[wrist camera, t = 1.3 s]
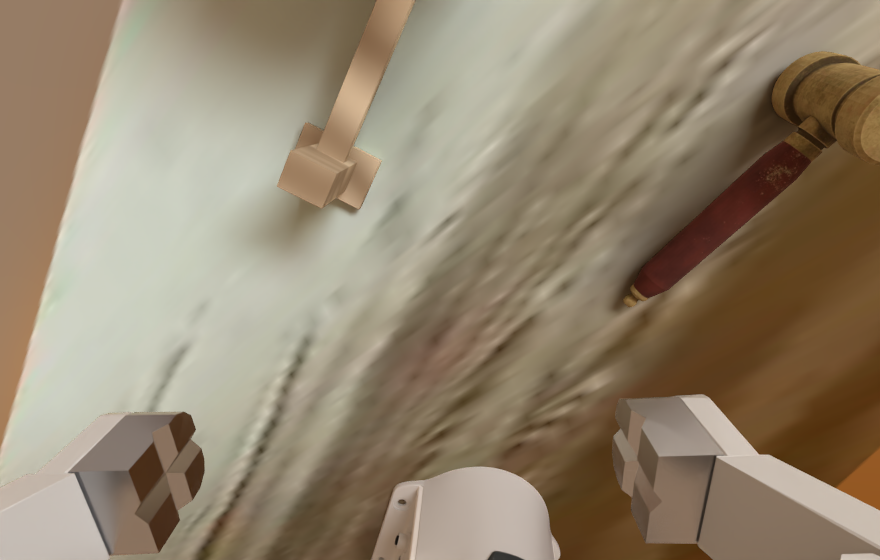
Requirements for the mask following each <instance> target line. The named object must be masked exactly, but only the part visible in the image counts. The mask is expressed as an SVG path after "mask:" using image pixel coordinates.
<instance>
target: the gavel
mask: <svg viewBox="0 0 880 560" xmlns="http://www.w3.org/2000/svg"><path fill="white" fill-rule="evenodd" d="M772 104H773V108H774V110H775V112H776V113H777V114H778V115H779V116H780V117H781V118H783V119H784V120H786V121H788V122H790V123H792V124H794V125H796V126H798V128H799V130H798V131H797V132H794V131H793V132H792V133H791V134H790V135H789V136H788V137H787V138H786V139H785V140H784V141H782V142H781V143H780V144H778V145H777V146H775V147H774V148H772V149H771V150H769V151H768V152H767V153H765V154H764V155H763V156H762V157H760V158H759V159H758V160H757V161H756V162H755V163H754V164H753V165H752V166H751V167H750V168H749V169H748V170H746V171H745V172H744V173H743V174H742V175H741V176H740V177H739V178H738V179H737V180H736V181H735V182H734V183H732V184H731V185H730V186H729V187H728V188H727V189H726V190H725V191H724V192H723V193H722V194H721V195H720V196H718V197H717V198H716V199H715V200H714V201H713V202H712V203H711V204H710V205H709V206H708V207H707V208H706V209H704V210H703V211H702V212H701V213H700V214H699V215H698V216H697V217H696V218H695V219H694V220H693V221H692V222H690V223H689V224H688V225H687V226H686V227H685V228H684V229H683V230H682V231H681V232H680V233H679V234H678V235H676V236H675V237H674V238H673V239H672V240H671V241H670V242H669V243H668V244H667V245H666V246H665V247H664V248H662V249H661V250H660V251H659V252H658V253H657V254H656V255H655V256H654V257H653V258H652V259H651V260H650V261H648V262H647V263H646V264H645V265H644V266H643V267H642V269H641V271H640V273H639V275H638V277H637V279H636V280H635V282H634V284H633V285H632V286H631V288H630V290H631V292H632V293H631V294H628V295H626V296H625V298H624V300H623V302H624V303H625V304H626V305H627V306H628V307H633V306H635V305H636V303H637V301H638V300H641V301H646V300H647V299H648V298H650V297H652V296H655V295H657V294H659V293H662V292H664V291H667V290H669V289H670V288H671V287H672V286H673V285H674V284H676V283H677V282H678V281H679V280H680V279H681V278H683V277H684V276H685V275H686V274H687V273H688V272H690V271H691V270H692V269H693V268H694V267H695V266H696V265H698V264H699V263H700V262H701V261H702V260H703V259H705V258H706V257H707V256H708V255H709V254H710V253H712V252H713V251H714V250H715V249H716V248H717V247H719V246H720V245H721V244H722V243H723V242H724V241H725V240H727V239H728V238H729V237H730V236H731V235H732V234H734V233H735V232H736V231H737V230H738V229H739V228H741V227H742V226H743V225H744V224H745V223H746V222H748V221H749V220H750V219H751V218H752V217H753V216H755V215H756V214H757V213H758V212H759V211H760V210H761V209H763V208H764V207H765V206H766V205H767V204H768V203H770V202H771V201H772V200H773V199H774V198H775V197H777V196H778V195H779V194H780V193H781V192H782V191H784V190H785V189H786V188H787V187H788V186H789V185H790V184H792V183H793V182H794V181H795V180H796V179H797V178H798V177H799V176H800V175H801V173H802V172H803V171H804V170H805V169H806V168H807V167H808V165H809V164H810V163H811V162H812V161H813V160H814V159H815V158H817V157H818V156H819V155H820V154H821V153H822V151H821V150H822V149H823V148H824V147H825V148H829V147H830V146H831V145H832V144H833V143H835V142H836V141H838V143H839V145H840V146H841V147H842V148H843V149H844V150H845V151H847V152H849V153H850V154H852V155H854V156H856V157H858V158H860V159H862V160H864V161H866V162H868V163H870V164H874V165H877V166H880V70H878V69H874V68H870V67H866V66H862V65H860V64H859V62H858V61H856V60H855V59H853V58H852V57H848V56H845V55H841V54H836V53H832V52H815V53H811V54H808V55H805V56H803V57H801V58H799V59H798V60H796V61H795V62H793V63H792V64H791V65H790V66H788V67H787V68H786V69H785V70H784V72H783V73H782V74H781V75H780V77H779V78H778V80H777V81H776V84H775V86H774V88H773V93H772Z"/></svg>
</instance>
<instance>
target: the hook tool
mask: <svg viewBox="0 0 880 560" xmlns="http://www.w3.org/2000/svg"><path fill="white" fill-rule="evenodd" d="M415 1H416V0H376V3H375V5H374V8H373V10H372V13H371V15H370V18H369V20H368V23H367V25H366V28H365V30H364V33H363V35H362V37H361V40H360V42H359V45H358V47H357V50H356V52H355V55H354V57H353V60H352V62H351V65H350V67H349V70H348V72H347V75H346V77H345V80H344V82H343V85H342V87H341V90H340V92H339V95H338V97H337V100H336V102H335V105H334V107H333V109H332V112H331V114H330V117H329V119H328V122H327V124H326V127H325V129H324V130H322V129H320V128H318V127H316V126H314V125H312V124H310V123H305V125H304V127H303V130H302V132H301V135H300V138H299V140H298V143H297V145H296V148H295V149H294V150H291V151H290V153H289V156H288V159H287V161H286V164H285V166H284V169H283V172H282V174H281V177H280V179H279V182H278V185H277V187H279V188H281V189H283V190H285V191H287V192H289V193H291V194H293V195H295V196H297V197H299V198H301V199H303V200H305V201H308V202H310V203H312V204H314V205H316V206H318V207H320V208H323V207H325V206H326V205H327V204H329V203H330V202H331V201H333V200H334V199H335V198H337V199H339V200H341V201H343V202H345V203H347V204H349V205H351V206H353V207H355V208H357V209H360V208H361V206H362V204H363V202H364V199H365V197H366V195H367V193H368V191H369V188H370V186H371V184H372V182H373V180H374V177H375V175H376V173H377V171H378V169H379V166H380V164H381V162H382V160H380V159H378V158H376V157H374V156H372V155H370V154H368V153H366V152H365V151H363V150H361V149H359V148H357V147H355V146H353V145H354V143H355V141H356V138H357V136H358V134H359V131H360V129H361V127H362V124H363V122H364V120H365V117H366V115H367V113H368V110H369V108H370V106H371V103H372V101H373V99H374V96H375V94H376V92H377V89H378V87H379V85H380V82H381V80H382V78H383V75H384V73H385V71H386V68H387V66H388V64H389V61H390V59H391V57H392V54H393V52H394V50H395V47H396V45H397V43H398V40H399V38H400V36H401V33H402V31H403V29H404V26H405V24H406V22H407V19H408V17H409V15H410V12H411V10H412V8H413V5H414V3H415Z"/></svg>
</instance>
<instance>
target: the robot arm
mask: <svg viewBox="0 0 880 560" xmlns="http://www.w3.org/2000/svg"><path fill="white" fill-rule="evenodd" d="M615 418H616V420H617V422H618V424H619V426H620V428H621V429H620V430H619V431H618V433H617V434H616V435H615V436H614V437H613V449H612V454H613V463H614V469H615V473H616V476H617V479H618V482H619V484H620V486H621V489H622V490H623V491H624V492H626V493H627V494H628V495H630V496H631V497H632V505H631V511H632V514H633V516H634V518H635V520H636V523H637V525H638V527H639V529H640V531H641V534H642V536H643V538H644V540H645V542H646V543H698V547H700V548H701V549H702V550H703V551H704V552H705V553H706V554H707V555H709V556H710V557H711V558H712V559H713V560H880V511H879V510H877V509H875V508H873V507H871V506H869V505H867V504H865V503H863V502H861V501H859V500H858V499H856V498H854V497H851V496H850V495H848V494H846V493H843V492H842V491H840V490H838V489H836V488H834V487H832V486H830V485H828V484H826V483H824V482H822V481H820V480H818V479H816V478H814V477H812V476H810V475H808V474H806V473H804V472H802V471H800V470H798V469H796V468H794V467H792V466H790V465H788V464H786V463H784V462H782V461H780V460H778V459H776V458H774V457H772V456H770V455H759V454H758V453H757V452H756V451H755V449H754V448H753V447H752V446H751V445H750V444H749V443H748V441H747V440H746V439H745V438H744V437H743V436H742V435H741V434H740V432H739V431H738V430H737V429H736V428H735V427H734V426H733V424H732V423H731V422H730V421H729V420H728V419H727V418H726V416H725V415H724V414H723V413H722V412H721V411H720V410H719V408H718V407H717V406H716V405H715V404H714V403H713V402H712V400H711V399H710V398H709V397H707V396H705V395H703V394H699V395H683V396H674V397H657V398H632V399H619V402H618V404H617V408H616V416H615ZM195 430H196V429H195V426H194V423H193V420H192V417H191V415H189V414H187V413H185V412H134V413H131V412H123V413H108V414H104V415H101V416H99V417H98V418H97V419H96V420H95V421H94V422H92V423H91V424H90V425H89V426H88V427H87V428H86V429H85V430H84V431H82V432H81V433H80V434H79V435H78V436H77V437H76V438H75V439H74V440H73V441H71V442H70V443H69V444H68V445H67V446H66V447H65V448H64V449H63V450H62V451H60V452H59V453H58V454H57V455H56V456H55V457H54V458H53V459H52V460H50V461H49V462H48V463H47V464H46V465H45V466H44V467H43V468H42V469H41V470H39V471H38V472H37V473H36V474H26V475H24V476H22V477H20V478H18V479H16V480H14V481H12V482H10V483H8V484H6V485H4V486H2V487H0V560H108V559H110V555H129V554H149V553H159V552H160V550H161V549H162V547H163V546H164V544H165V543H166V541H167V539H168V538H169V536H170V535H171V533H172V532H173V530H174V529H175V527H176V525H177V524H178V522H179V521H180V519H179V514H178V510H179V509H181V508H182V507H183V506H185V505H186V504H188V503H189V502H191V501H192V500H193V498H194V497H195V495H196V493H197V492H198V490H199V489H200V486H201V483H202V479H203V475H204V456H203V453H202V449H201V448H200V447H199V446H198V445H197V444H196V443H194V442H193V441H192V440H191V438H192V436H193V434H194V432H195ZM400 499H403V500H405V501H406V503H405V504H399V503H398V500H400ZM380 557H383V558H380ZM559 557H560V548H559V546H558V544H557V542H556V540H555V539H554V537H553V536H552V534H551V531H550V524H549V515H548V511H547V507H546V505H545V503H544V500H543V499H542V497H541V495H540V494H539V493H538V491H537V490H536V489H535V488H534V487H533V486H532V485H531V484H529V483H528V482H527V481H525V480H524V479H522V478H521V477H519V476H517V475H515V474H513V473H510V472H507V471H504V470H501V469H496V468H490V467H467V468H461V469H456V470H452V471H449V472H446V473H444V474H441V475H438V476H436V477H434V478H431V479H427V480H421V481H408V482H403V483H400V484H398V485H396V486H395V487H394V489H393V492H392V495H391V498H390V501H389V504H388V507H387V510H386V514H385V517H384V520H383V523H382V526H381V529H380V532H379V535H378V539H377V542H376V545H375V548H374V551H373V554H372V557H371V560H558V559H559Z"/></svg>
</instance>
